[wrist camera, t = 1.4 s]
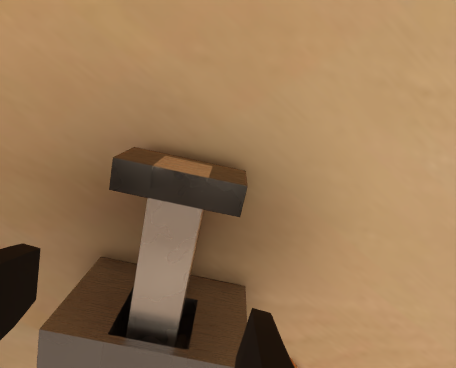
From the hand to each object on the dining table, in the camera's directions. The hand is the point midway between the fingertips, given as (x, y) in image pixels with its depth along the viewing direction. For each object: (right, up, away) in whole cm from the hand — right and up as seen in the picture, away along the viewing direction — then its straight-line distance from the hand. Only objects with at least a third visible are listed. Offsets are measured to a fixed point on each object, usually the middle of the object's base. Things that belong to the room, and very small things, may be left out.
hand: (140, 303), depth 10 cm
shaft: (-2, -6, +9) cm, 11 cm away
